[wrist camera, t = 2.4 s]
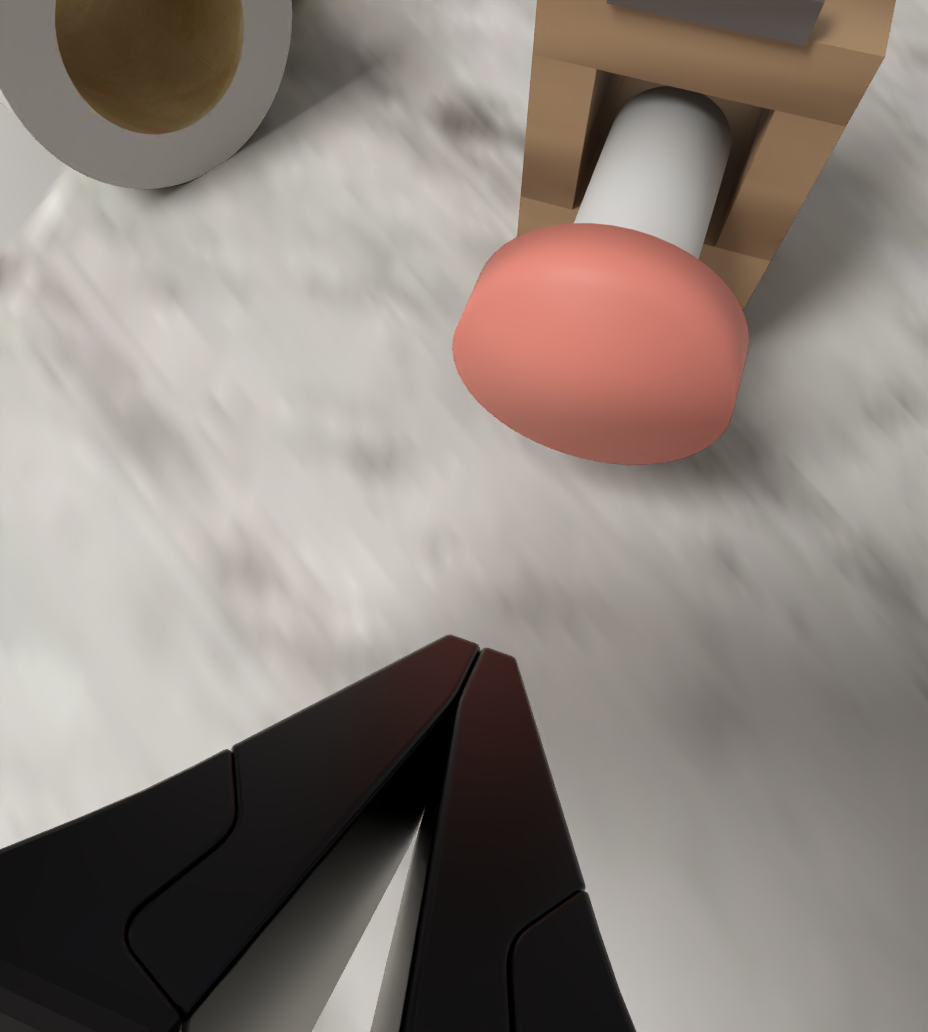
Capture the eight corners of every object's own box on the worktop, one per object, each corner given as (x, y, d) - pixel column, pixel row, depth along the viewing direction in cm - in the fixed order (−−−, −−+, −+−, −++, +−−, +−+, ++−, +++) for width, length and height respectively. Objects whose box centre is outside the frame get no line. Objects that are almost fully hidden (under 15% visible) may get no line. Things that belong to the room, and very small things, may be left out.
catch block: (713, 365, 23) (907, 20, 13) (509, 307, 24) (539, -57, 14) (750, 227, 25) (940, -161, 15) (562, 179, 26) (621, -215, 16)
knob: (683, 490, 17) (787, 340, 12) (455, 419, 18) (448, 247, 12) (743, 261, 20) (851, 50, 14) (542, 208, 21) (569, -11, 15)
